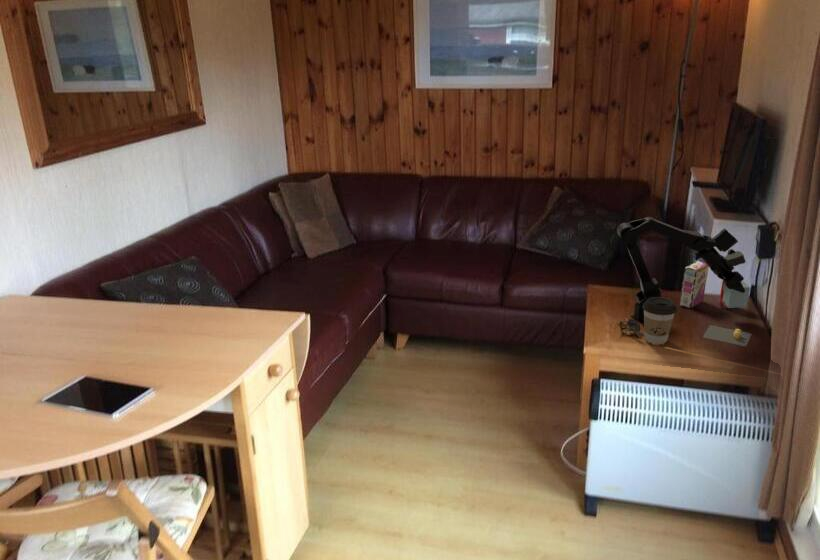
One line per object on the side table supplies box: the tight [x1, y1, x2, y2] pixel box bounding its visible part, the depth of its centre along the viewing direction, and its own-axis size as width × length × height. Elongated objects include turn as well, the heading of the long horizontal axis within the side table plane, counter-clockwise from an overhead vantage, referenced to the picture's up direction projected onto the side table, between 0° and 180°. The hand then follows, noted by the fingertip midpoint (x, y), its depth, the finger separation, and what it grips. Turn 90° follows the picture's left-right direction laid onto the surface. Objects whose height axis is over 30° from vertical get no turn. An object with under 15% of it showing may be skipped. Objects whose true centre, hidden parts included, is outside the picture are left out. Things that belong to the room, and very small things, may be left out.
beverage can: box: [718, 280, 736, 310], centre depth 254 cm, size 6×6×12 cm
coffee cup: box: [642, 296, 678, 345], centre depth 227 cm, size 11×11×15 cm
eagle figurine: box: [616, 317, 645, 339], centre depth 234 cm, size 8×7×9 cm
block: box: [723, 280, 751, 309], centre depth 239 cm, size 6×6×8 cm
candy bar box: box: [679, 260, 710, 309], centre depth 257 cm, size 11×5×16 cm, turn 133°
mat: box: [702, 324, 752, 347], centre depth 230 cm, size 14×12×3 cm
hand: (740, 288), depth 238 cm, fingers closed on block, 6 cm apart
